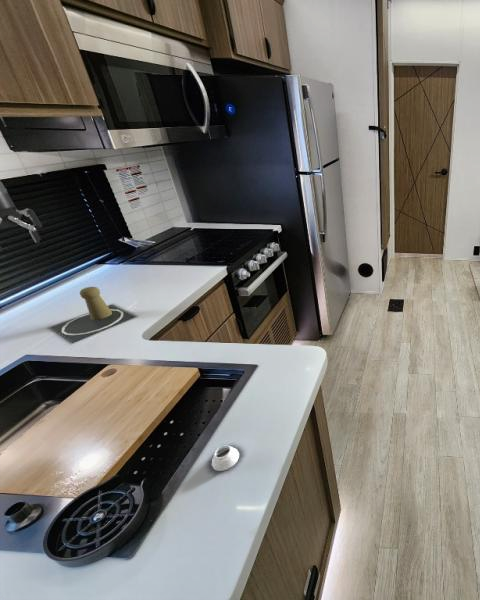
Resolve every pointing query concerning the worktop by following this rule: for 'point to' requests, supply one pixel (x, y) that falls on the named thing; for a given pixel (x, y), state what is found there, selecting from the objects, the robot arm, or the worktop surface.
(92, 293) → the cork
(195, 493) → the worktop surface
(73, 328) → the slate board
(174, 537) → the worktop surface
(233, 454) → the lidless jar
